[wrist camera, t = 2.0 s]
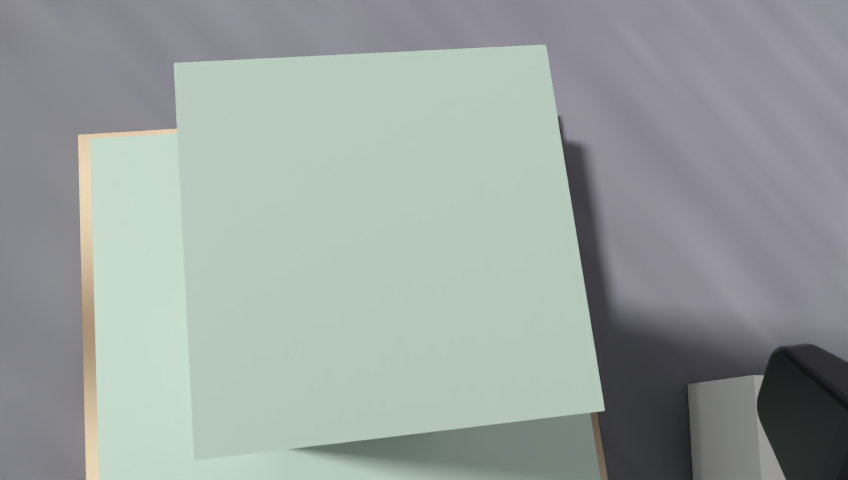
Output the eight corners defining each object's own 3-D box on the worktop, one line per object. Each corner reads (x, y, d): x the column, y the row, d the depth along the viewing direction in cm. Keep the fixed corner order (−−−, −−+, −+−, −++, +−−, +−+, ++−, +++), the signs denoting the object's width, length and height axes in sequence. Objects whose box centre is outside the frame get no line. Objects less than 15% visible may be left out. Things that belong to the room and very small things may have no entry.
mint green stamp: (598, 560, 17) (1031, 754, 7) (116, 632, 16) (-284, 1025, 5) (531, 126, 20) (782, -237, 9) (101, 154, 18) (-202, -241, 8)
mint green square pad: (617, 578, 18) (624, 581, 17) (95, 658, 16) (90, 664, 16) (543, 112, 20) (548, 106, 20) (83, 140, 19) (78, 134, 18)
